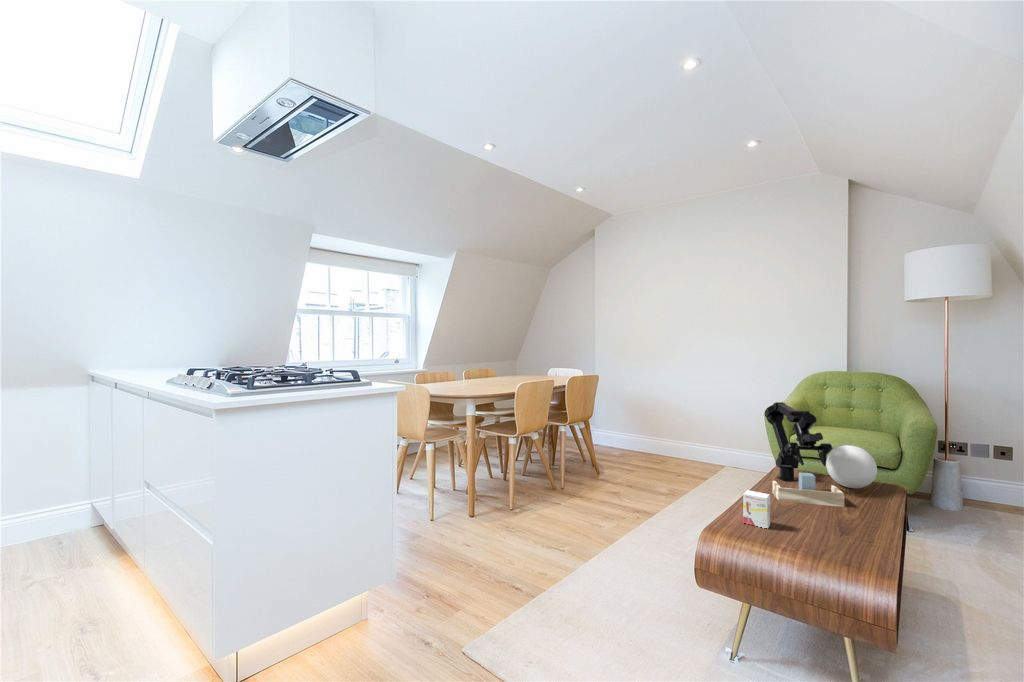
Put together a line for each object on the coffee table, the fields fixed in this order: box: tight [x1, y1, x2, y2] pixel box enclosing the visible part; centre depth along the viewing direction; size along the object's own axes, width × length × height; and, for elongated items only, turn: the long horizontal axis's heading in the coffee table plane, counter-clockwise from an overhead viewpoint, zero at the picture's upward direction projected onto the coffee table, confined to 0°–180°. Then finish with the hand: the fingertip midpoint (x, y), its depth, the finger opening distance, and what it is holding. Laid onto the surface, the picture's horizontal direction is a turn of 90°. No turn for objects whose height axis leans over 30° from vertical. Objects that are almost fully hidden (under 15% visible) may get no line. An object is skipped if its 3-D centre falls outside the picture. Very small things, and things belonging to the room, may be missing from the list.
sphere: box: [825, 444, 878, 489], centre depth 223 cm, size 20×20×20 cm
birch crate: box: [772, 480, 845, 508], centre depth 204 cm, size 12×24×6 cm, turn 72°
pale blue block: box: [798, 472, 816, 490], centre depth 204 cm, size 5×5×11 cm
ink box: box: [742, 489, 771, 530], centre depth 176 cm, size 9×5×12 cm, turn 50°
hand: (814, 465), depth 210 cm, fingers open, 9 cm apart
